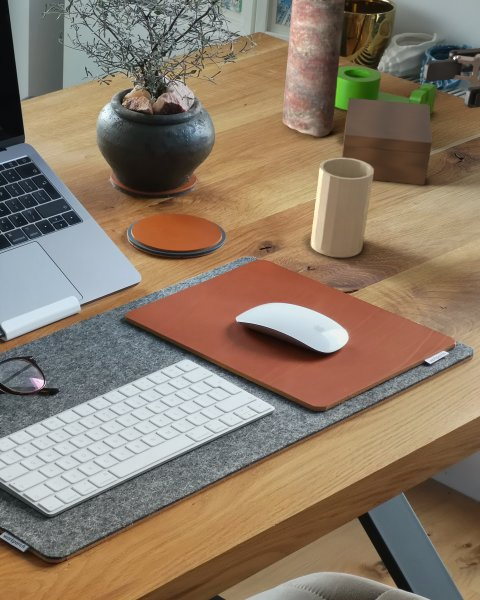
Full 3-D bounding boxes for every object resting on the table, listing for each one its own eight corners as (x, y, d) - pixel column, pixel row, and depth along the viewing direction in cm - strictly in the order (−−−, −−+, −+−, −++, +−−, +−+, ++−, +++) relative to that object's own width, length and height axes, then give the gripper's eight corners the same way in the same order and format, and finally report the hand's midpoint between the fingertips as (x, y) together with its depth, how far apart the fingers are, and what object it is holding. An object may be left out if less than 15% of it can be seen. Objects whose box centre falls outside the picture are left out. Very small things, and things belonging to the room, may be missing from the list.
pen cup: (362, 237, 134) (374, 160, 129) (361, 260, 129) (373, 181, 124) (312, 231, 135) (321, 155, 130) (308, 254, 130) (318, 176, 125)
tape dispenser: (322, 104, 172) (325, 75, 169) (341, 91, 176) (345, 62, 174) (415, 126, 164) (420, 96, 162) (433, 112, 169) (438, 82, 166)
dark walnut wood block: (422, 144, 158) (429, 104, 155) (424, 185, 146) (431, 142, 143) (343, 137, 160) (348, 97, 157) (339, 176, 149) (344, 134, 146)
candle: (278, 136, 161) (291, -3, 150) (281, 117, 167) (294, -17, 157) (331, 140, 159) (349, 1, 149) (332, 121, 165) (349, -14, 155)
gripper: (537, 21, 133) (417, 32, 129) (618, 59, 121) (488, 74, 117) (524, 81, 137) (407, 94, 133) (601, 124, 125) (475, 140, 121)
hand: (445, 84), depth 125 cm, fingers open, 8 cm apart
